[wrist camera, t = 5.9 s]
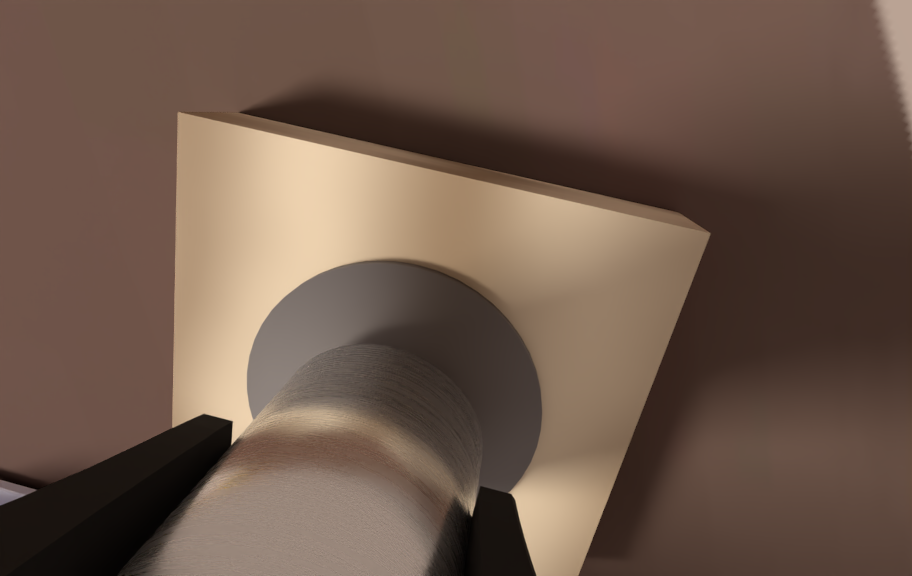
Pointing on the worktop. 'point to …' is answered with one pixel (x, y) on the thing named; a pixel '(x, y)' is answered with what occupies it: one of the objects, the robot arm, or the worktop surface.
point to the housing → (335, 479)
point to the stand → (429, 299)
